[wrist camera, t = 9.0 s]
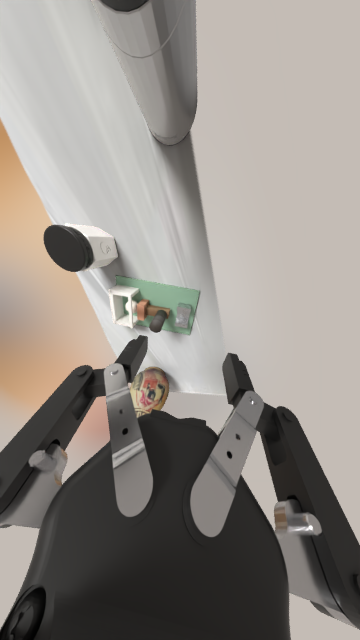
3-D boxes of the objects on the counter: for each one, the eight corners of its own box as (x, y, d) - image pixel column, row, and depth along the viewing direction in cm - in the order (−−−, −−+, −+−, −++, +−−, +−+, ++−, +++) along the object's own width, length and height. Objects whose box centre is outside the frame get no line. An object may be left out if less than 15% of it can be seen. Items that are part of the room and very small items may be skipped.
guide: (178, 302, 41) (177, 306, 38) (191, 304, 41) (191, 309, 38) (175, 320, 44) (174, 325, 42) (187, 323, 44) (186, 328, 42)
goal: (118, 284, 40) (107, 290, 36) (138, 288, 40) (130, 295, 35) (121, 315, 46) (112, 324, 41) (139, 319, 46) (132, 328, 41)
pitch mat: (116, 275, 39) (115, 275, 39) (199, 290, 39) (199, 291, 38) (121, 320, 48) (120, 321, 47) (189, 334, 47) (189, 334, 47)
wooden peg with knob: (142, 298, 41) (128, 313, 33) (171, 304, 41) (163, 320, 33) (142, 312, 44) (129, 330, 36) (169, 317, 44) (162, 336, 35)
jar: (121, 265, 38) (92, 274, 28) (94, 264, 39) (57, 274, 29) (112, 226, 33) (73, 220, 23) (82, 227, 34) (32, 222, 24)
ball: (135, 304, 38) (141, 299, 42) (122, 302, 39) (129, 297, 42) (135, 316, 41) (141, 310, 44) (123, 313, 41) (130, 308, 44)
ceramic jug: (177, 369, 58) (159, 471, 32) (165, 386, 66) (143, 480, 40) (140, 354, 56) (90, 450, 30) (132, 374, 64) (87, 464, 38)
